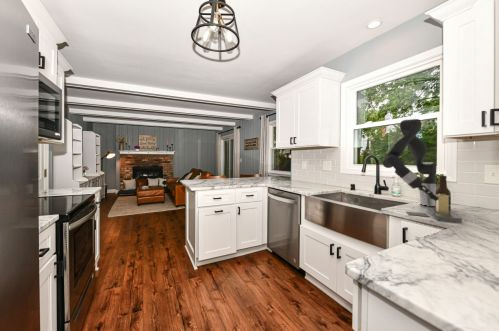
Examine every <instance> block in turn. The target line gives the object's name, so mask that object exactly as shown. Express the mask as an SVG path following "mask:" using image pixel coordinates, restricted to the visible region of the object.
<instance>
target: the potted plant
mask: <svg viewBox="0 0 499 331" xmlns="http://www.w3.org/2000/svg"><path fill="white" fill-rule="evenodd" d="M447 177H448V176H447V175H440V176H439V183H438V185H439V186H438V188H437V189H436V193H435V196H436V195H438V194H446V195H447V196H449V212H451V211H452V210H451V206H452V204H451V201H452V200H451V199H452V198H451V197H452V196H451V191H450V190H449V188H448V185H447ZM434 209H436V201H435V208H434Z"/></svg>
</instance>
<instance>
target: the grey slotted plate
mask: <svg viewBox="0 0 499 331" xmlns="http://www.w3.org/2000/svg"><path fill="white" fill-rule="evenodd" d="M425 213H426V214H428V215H429V216H431V217H433V218H434V219H435V220H436V221H438V222H448V223H457V224H462V223H463V220H462V218H461V217H460V216H458V215H457V214H455V213H453V212H451V211H450V212H449V214H440V213H436V209H435V208H431V207H430V208H428V207H427V208H426V212H425Z"/></svg>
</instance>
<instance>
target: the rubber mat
mask: <svg viewBox="0 0 499 331" xmlns="http://www.w3.org/2000/svg"><path fill="white" fill-rule="evenodd" d="M406 214H407V215H408V216H414V217H425V218H430V215H429V214H428V213H427V212H415V211H406Z"/></svg>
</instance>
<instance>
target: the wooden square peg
mask: <svg viewBox="0 0 499 331" xmlns="http://www.w3.org/2000/svg"><path fill="white" fill-rule="evenodd" d="M436 197H437V198H439V199H438V200H437V201H436V213H440V214H449V196H447V195H446V194H438V195H436Z"/></svg>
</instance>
